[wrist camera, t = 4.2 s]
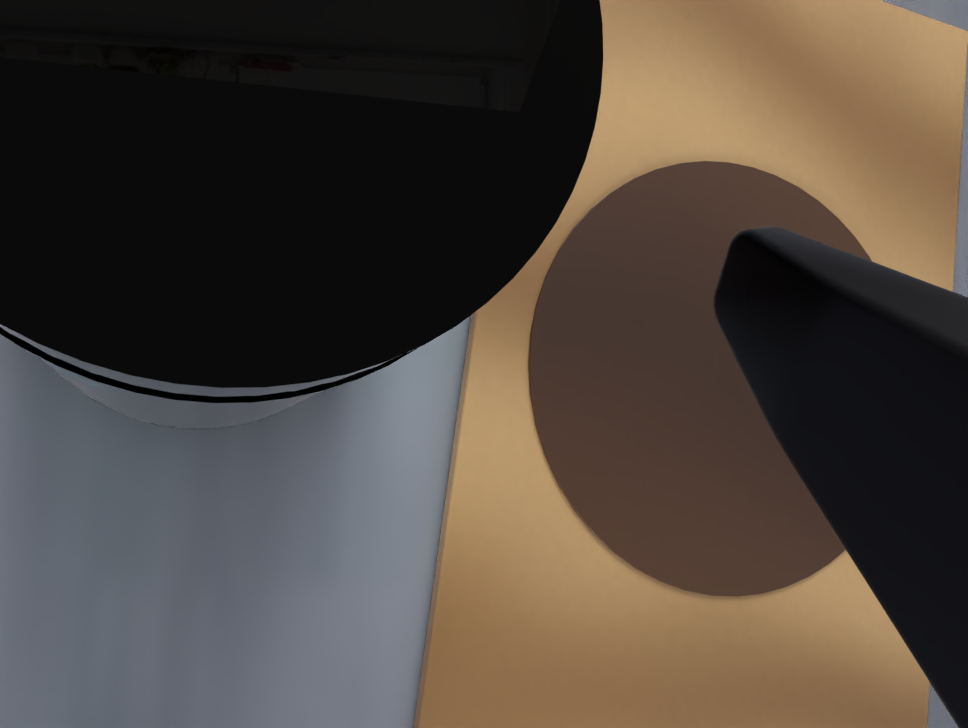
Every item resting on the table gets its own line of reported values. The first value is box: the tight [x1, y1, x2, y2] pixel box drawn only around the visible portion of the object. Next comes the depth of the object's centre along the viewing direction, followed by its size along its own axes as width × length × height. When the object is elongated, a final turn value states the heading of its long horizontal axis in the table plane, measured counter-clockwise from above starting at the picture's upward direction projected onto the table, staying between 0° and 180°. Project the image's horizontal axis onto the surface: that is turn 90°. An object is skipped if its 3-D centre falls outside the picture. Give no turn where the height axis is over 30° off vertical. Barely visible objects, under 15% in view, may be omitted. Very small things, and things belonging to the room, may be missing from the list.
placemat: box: [413, 0, 968, 728], centre depth 21 cm, size 20×12×1 cm, turn 172°
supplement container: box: [0, 0, 603, 429], centre depth 13 cm, size 7×7×10 cm
